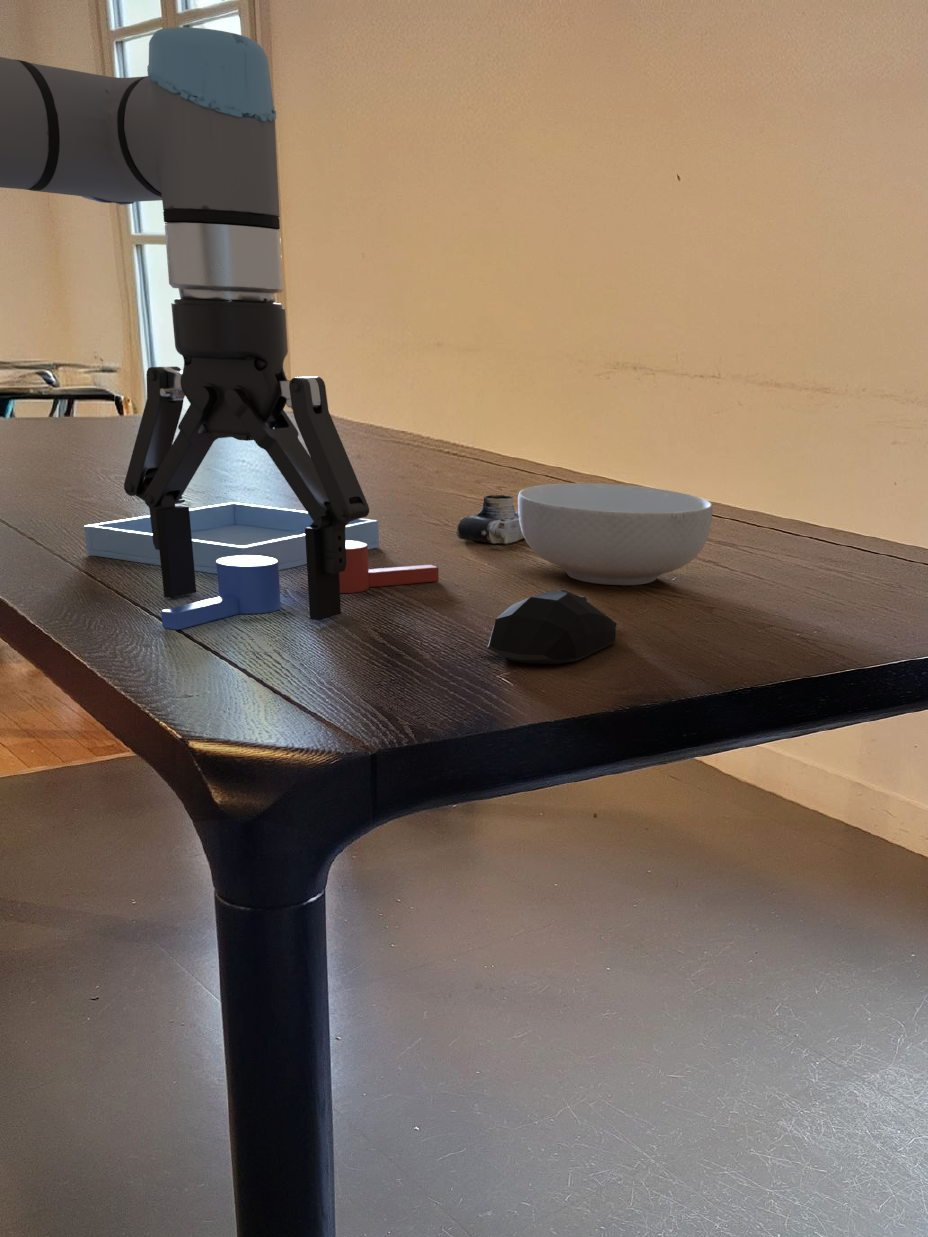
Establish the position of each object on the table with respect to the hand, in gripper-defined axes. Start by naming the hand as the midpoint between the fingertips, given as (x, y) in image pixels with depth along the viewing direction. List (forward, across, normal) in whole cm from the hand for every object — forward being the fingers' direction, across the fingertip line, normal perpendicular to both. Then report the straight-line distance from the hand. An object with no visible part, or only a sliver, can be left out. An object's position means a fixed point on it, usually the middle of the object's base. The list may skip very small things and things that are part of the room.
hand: (251, 606), depth 97 cm
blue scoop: (0, 0, +3) cm, 3 cm away
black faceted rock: (0, -25, -3) cm, 25 cm away
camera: (0, +1, -40) cm, 40 cm away
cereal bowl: (0, -17, -28) cm, 33 cm away
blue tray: (0, +16, -18) cm, 24 cm away
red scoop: (0, -2, -13) cm, 13 cm away
